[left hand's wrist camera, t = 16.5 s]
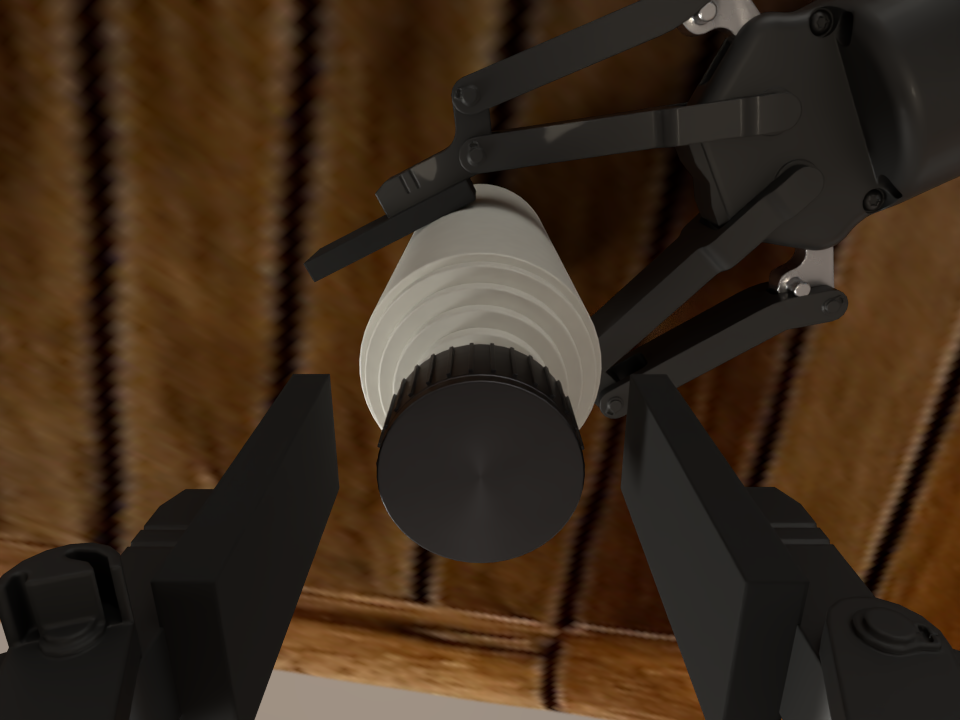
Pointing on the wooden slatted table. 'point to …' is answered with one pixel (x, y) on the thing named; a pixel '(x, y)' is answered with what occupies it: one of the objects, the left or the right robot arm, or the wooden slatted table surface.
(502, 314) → the bottle
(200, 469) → the wooden slatted table surface
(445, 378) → the cap
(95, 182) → the wooden slatted table surface
